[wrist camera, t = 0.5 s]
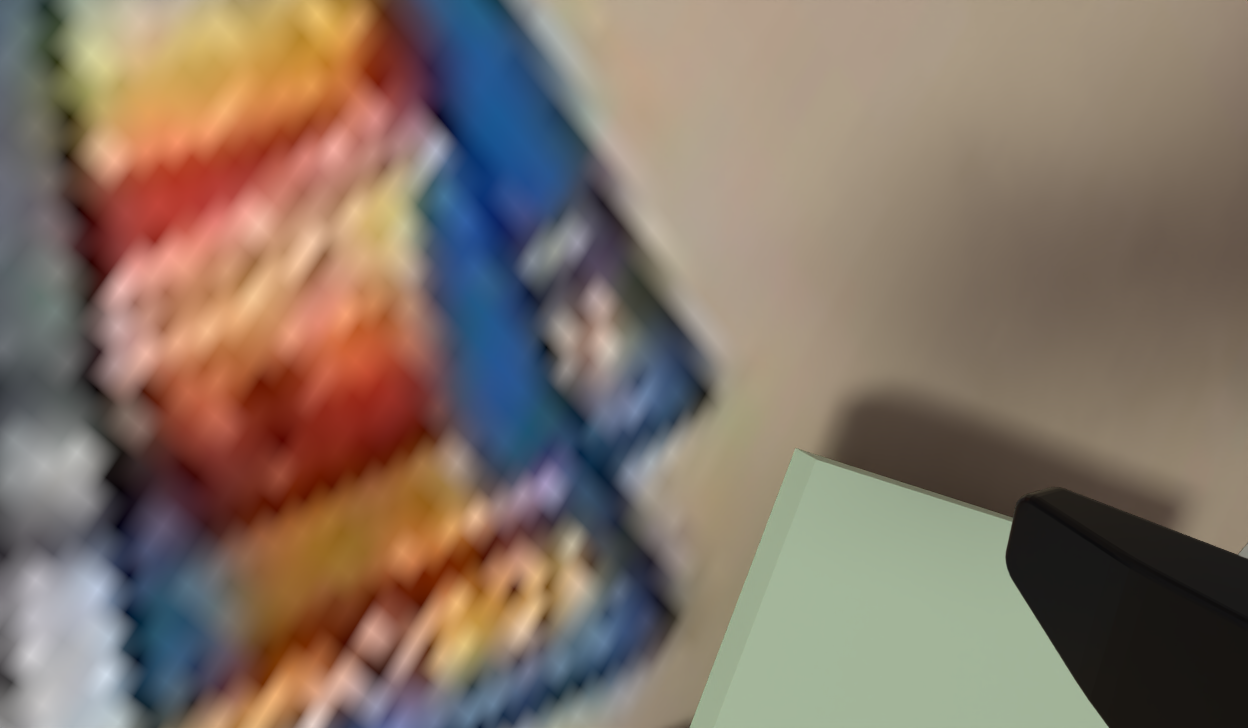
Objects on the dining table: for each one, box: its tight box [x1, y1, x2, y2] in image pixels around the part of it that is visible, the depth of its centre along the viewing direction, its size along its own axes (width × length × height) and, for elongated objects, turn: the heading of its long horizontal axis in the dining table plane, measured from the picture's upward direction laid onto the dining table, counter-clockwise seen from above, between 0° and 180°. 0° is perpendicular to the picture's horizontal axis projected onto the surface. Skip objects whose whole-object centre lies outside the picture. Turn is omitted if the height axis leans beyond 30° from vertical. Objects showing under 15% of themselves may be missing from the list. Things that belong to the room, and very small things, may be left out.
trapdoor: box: [690, 448, 1109, 728], centre depth 27 cm, size 9×12×1 cm
